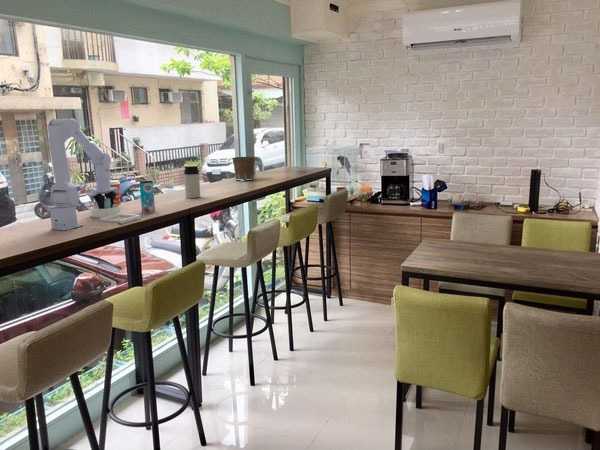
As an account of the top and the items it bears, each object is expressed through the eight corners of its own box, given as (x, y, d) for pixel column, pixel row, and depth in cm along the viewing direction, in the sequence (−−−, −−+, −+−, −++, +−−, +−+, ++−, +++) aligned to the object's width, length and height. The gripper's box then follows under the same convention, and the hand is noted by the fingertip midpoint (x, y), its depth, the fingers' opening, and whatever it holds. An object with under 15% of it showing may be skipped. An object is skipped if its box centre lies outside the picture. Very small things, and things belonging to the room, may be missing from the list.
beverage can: (144, 214, 232) (141, 182, 229) (140, 212, 237) (137, 181, 234) (156, 213, 235) (154, 181, 232) (153, 211, 240) (150, 180, 237)
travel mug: (190, 198, 276) (188, 166, 272) (183, 197, 282) (181, 165, 278) (203, 197, 281) (201, 164, 278) (195, 195, 287) (193, 164, 283)
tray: (121, 224, 211) (120, 220, 211) (99, 222, 216) (99, 218, 216) (141, 219, 222) (140, 215, 221) (120, 217, 227) (119, 213, 226)
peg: (106, 212, 227) (105, 199, 225) (99, 212, 228) (97, 199, 227) (113, 211, 231) (112, 198, 229) (106, 210, 232) (105, 197, 231)
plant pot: (249, 182, 343) (248, 158, 339) (228, 181, 348) (227, 158, 345) (260, 179, 357) (259, 156, 354) (239, 179, 363) (238, 156, 360)
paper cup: (117, 210, 244) (114, 182, 241) (103, 210, 246) (100, 181, 243) (125, 207, 252) (123, 180, 249) (111, 207, 253) (109, 179, 250)
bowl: (106, 219, 222) (105, 209, 221) (85, 218, 227) (84, 208, 226) (127, 214, 233) (126, 205, 232) (106, 213, 238) (105, 203, 237)
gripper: (108, 177, 235) (111, 206, 237) (83, 181, 222) (87, 211, 224) (120, 177, 232) (122, 207, 234) (95, 181, 219) (98, 212, 222)
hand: (106, 209), depth 229 cm, fingers closed on peg, 4 cm apart
